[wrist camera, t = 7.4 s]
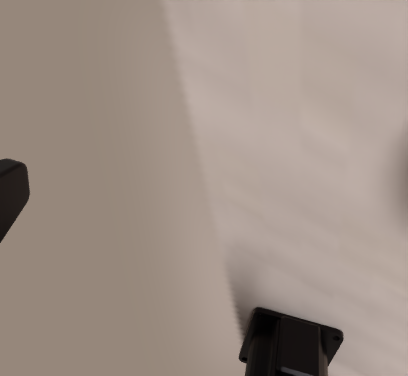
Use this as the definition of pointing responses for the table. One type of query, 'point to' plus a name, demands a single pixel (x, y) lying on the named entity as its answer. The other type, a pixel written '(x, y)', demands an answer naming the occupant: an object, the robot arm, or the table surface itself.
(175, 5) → the table surface
